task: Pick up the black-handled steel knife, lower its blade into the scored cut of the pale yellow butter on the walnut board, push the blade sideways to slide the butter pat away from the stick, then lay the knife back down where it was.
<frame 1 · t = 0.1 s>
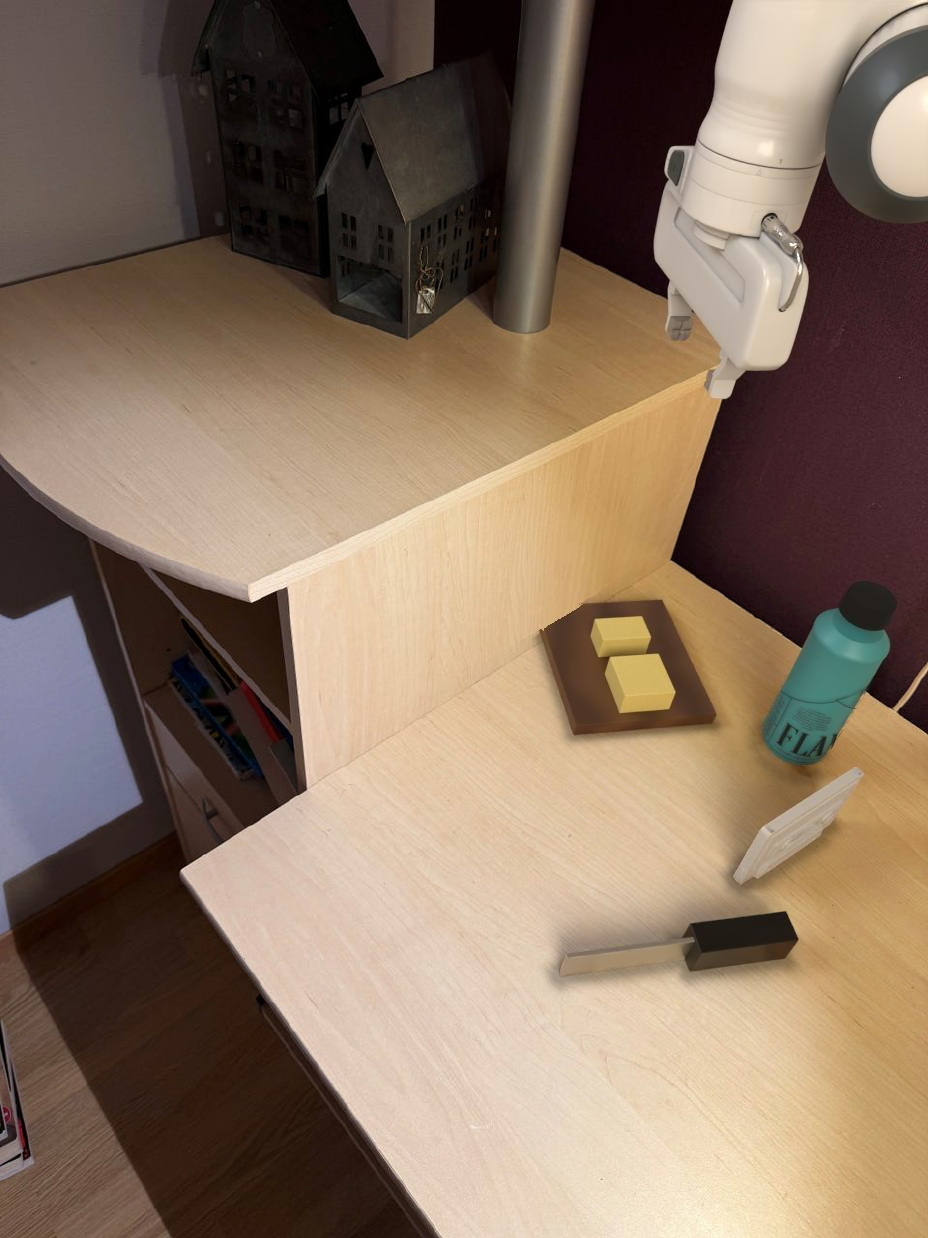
hand: (695, 364, 75), 30 cm above the table, tool pointing down, fingers open, 8 cm apart
cassette: (782, 851, 78), on the table
butter pat: (617, 645, 92), point 1 cm above the table, touching board
beverage bottle: (787, 750, 86), on the table
butter stick: (636, 691, 87), point 1 cm above the table, touching board
knife: (684, 957, 70), on the table
board: (619, 667, 92), on the table
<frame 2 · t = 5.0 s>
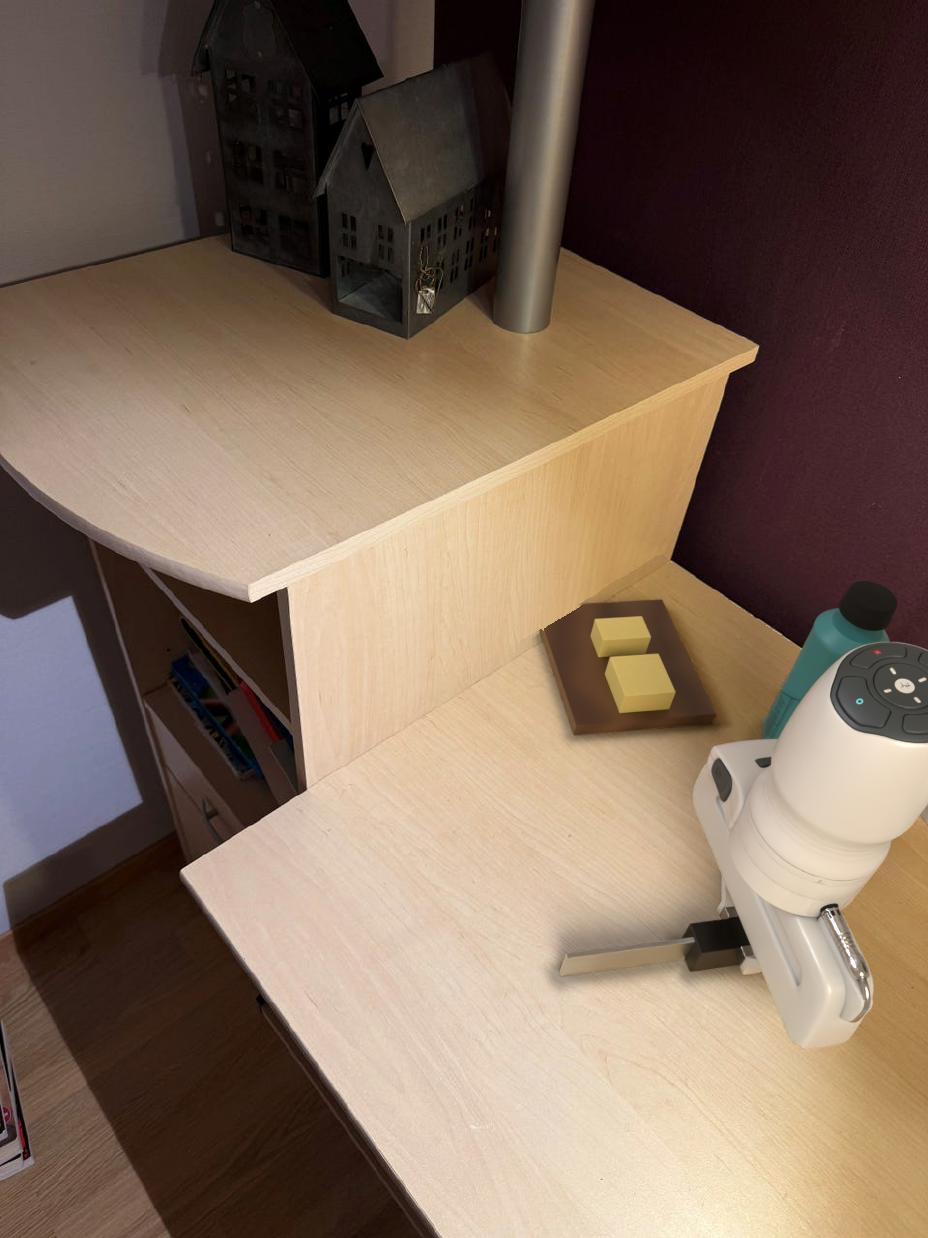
hand: (738, 941, 70), 2 cm above the table, tool pointing down, fingers closed on knife, 2 cm apart
knife: (684, 957, 70), on the table, touching gripper
everything else where it was.
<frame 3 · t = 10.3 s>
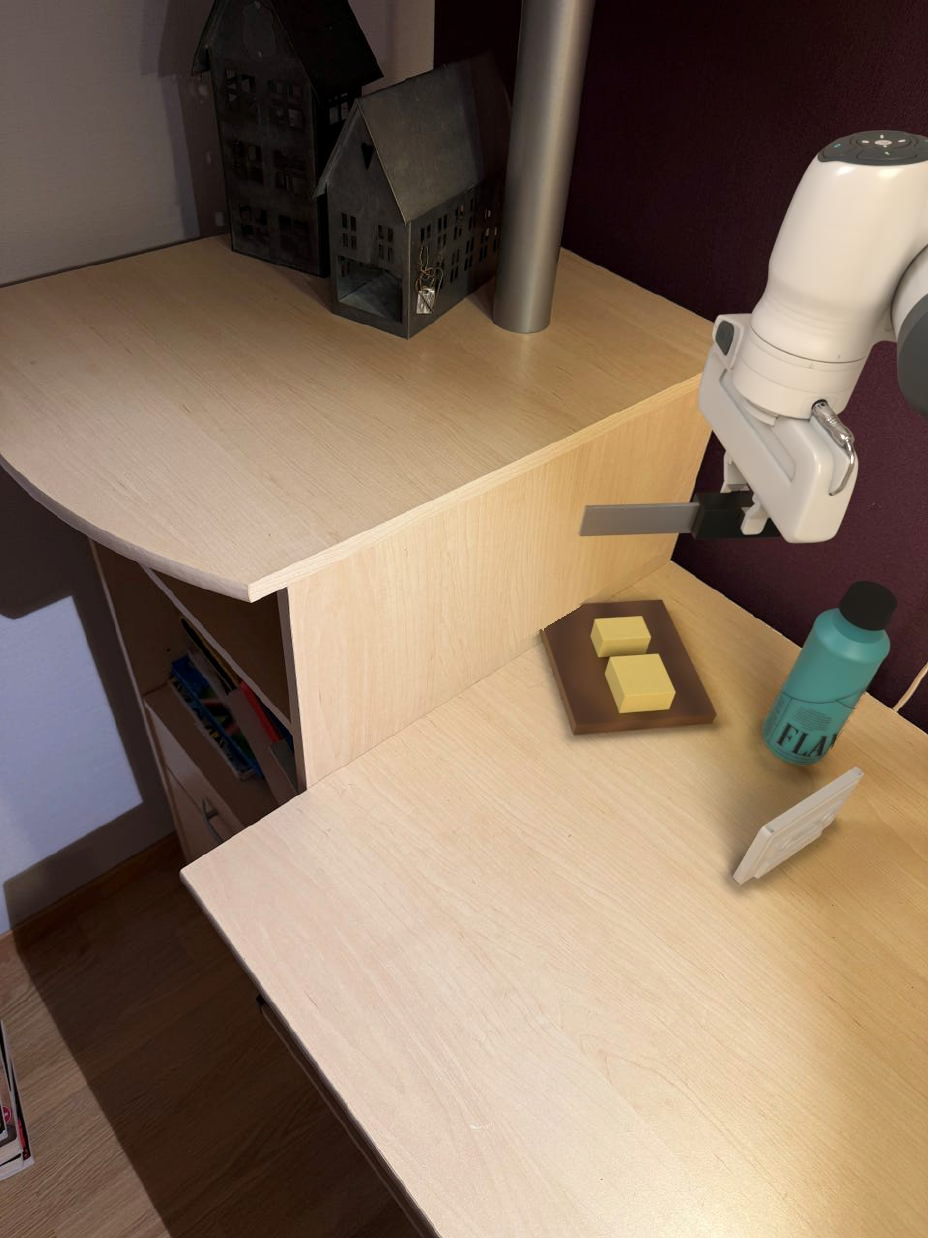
hand: (739, 515, 78), 20 cm above the table, tool pointing down, fingers closed on knife, 2 cm apart
knife: (689, 531, 78), point 19 cm above the table, touching gripper
everything else where it was.
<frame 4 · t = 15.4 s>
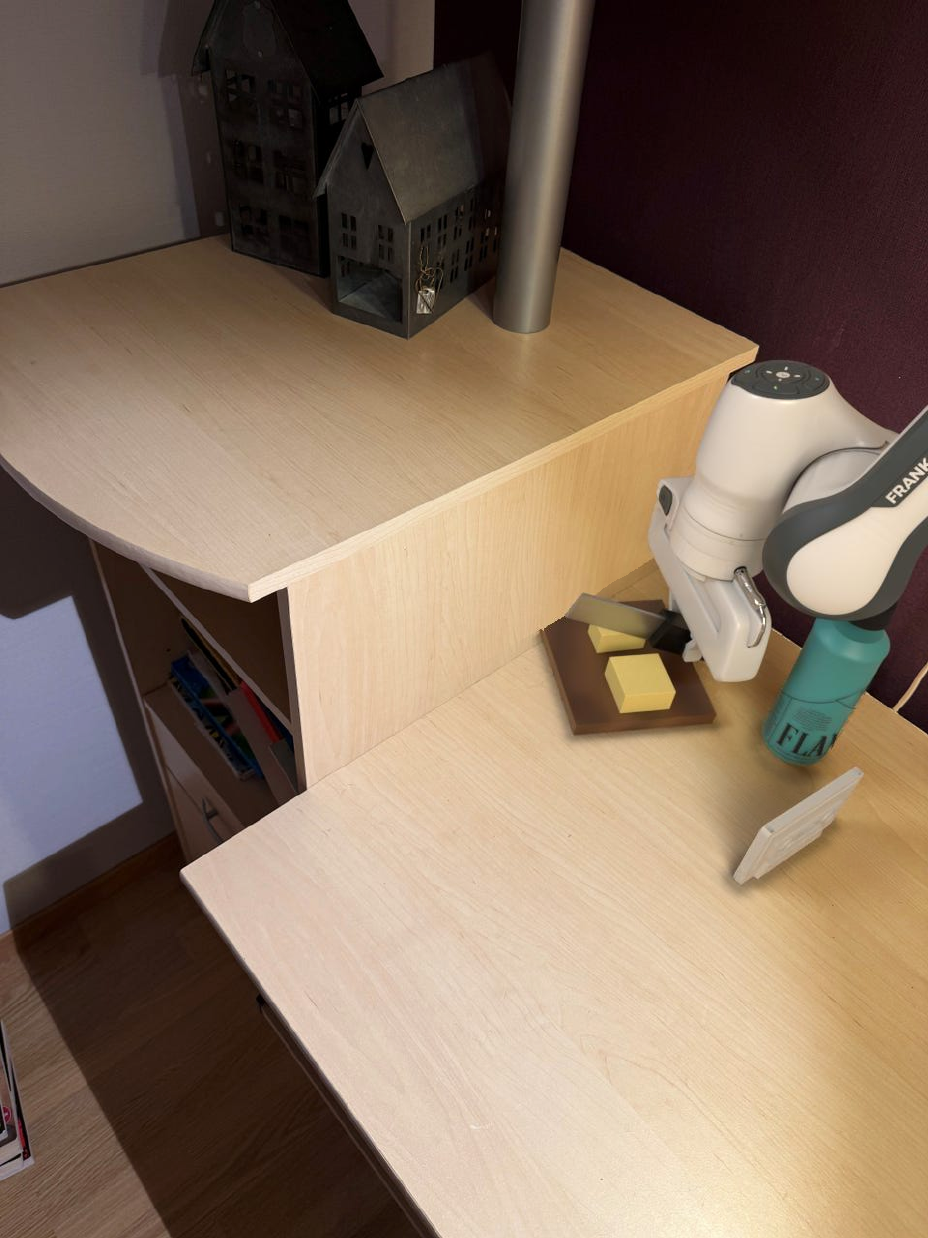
hand: (682, 642, 90), 3 cm above the table, tool pointing down, fingers closed on knife, 2 cm apart
butter pat: (615, 640, 92), point 2 cm above the table, touching knife
knife: (647, 638, 89), point 4 cm above the table, tilted 24°, touching butter pat, gripper
everything else where it was.
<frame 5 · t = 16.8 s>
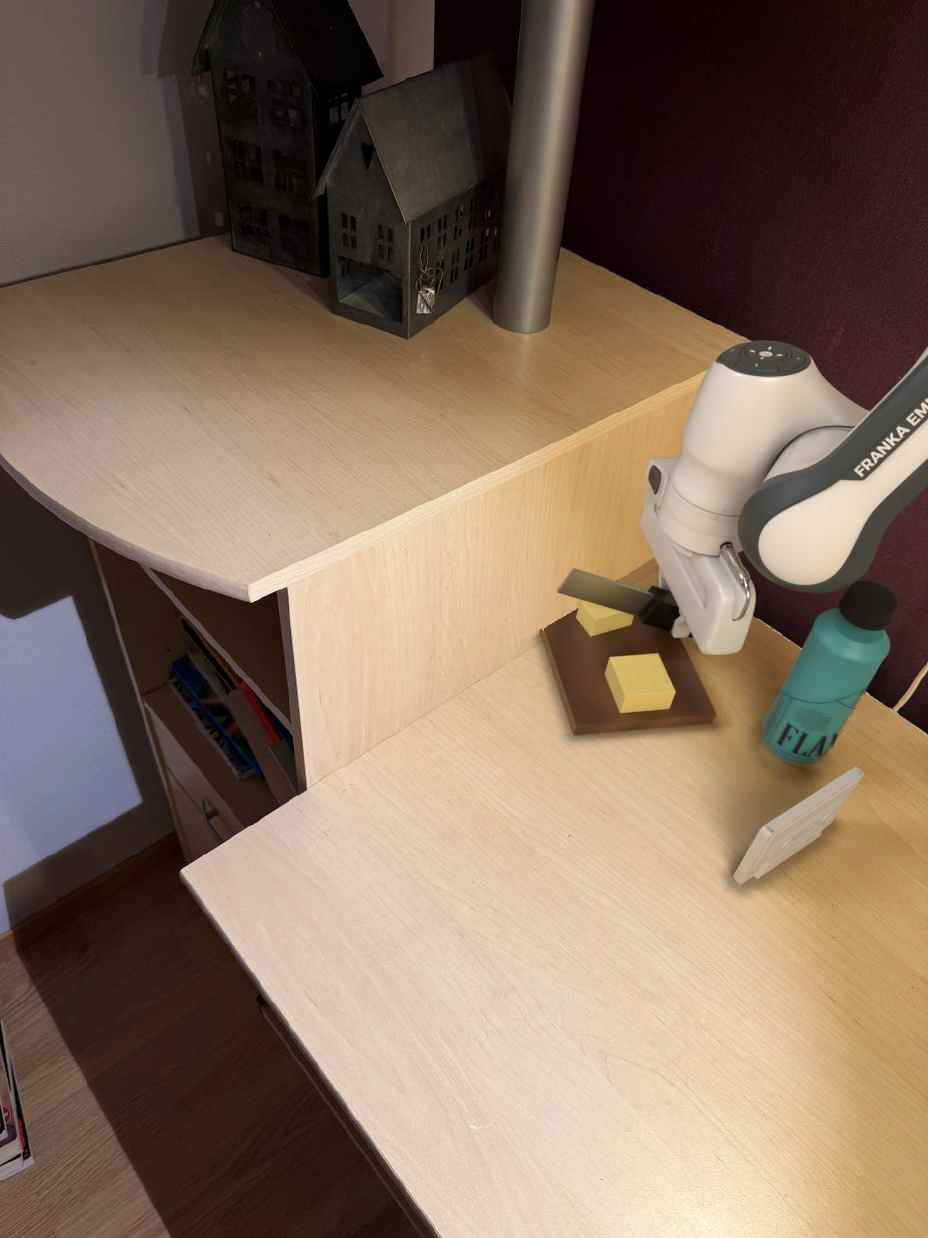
hand: (671, 619, 93), 3 cm above the table, tool pointing down, fingers closed on knife, 2 cm apart
butter pat: (603, 621, 94), point 2 cm above the table, touching board, knife
knife: (637, 615, 91), point 4 cm above the table, tilted 24°, touching butter pat, gripper
everything else where it was.
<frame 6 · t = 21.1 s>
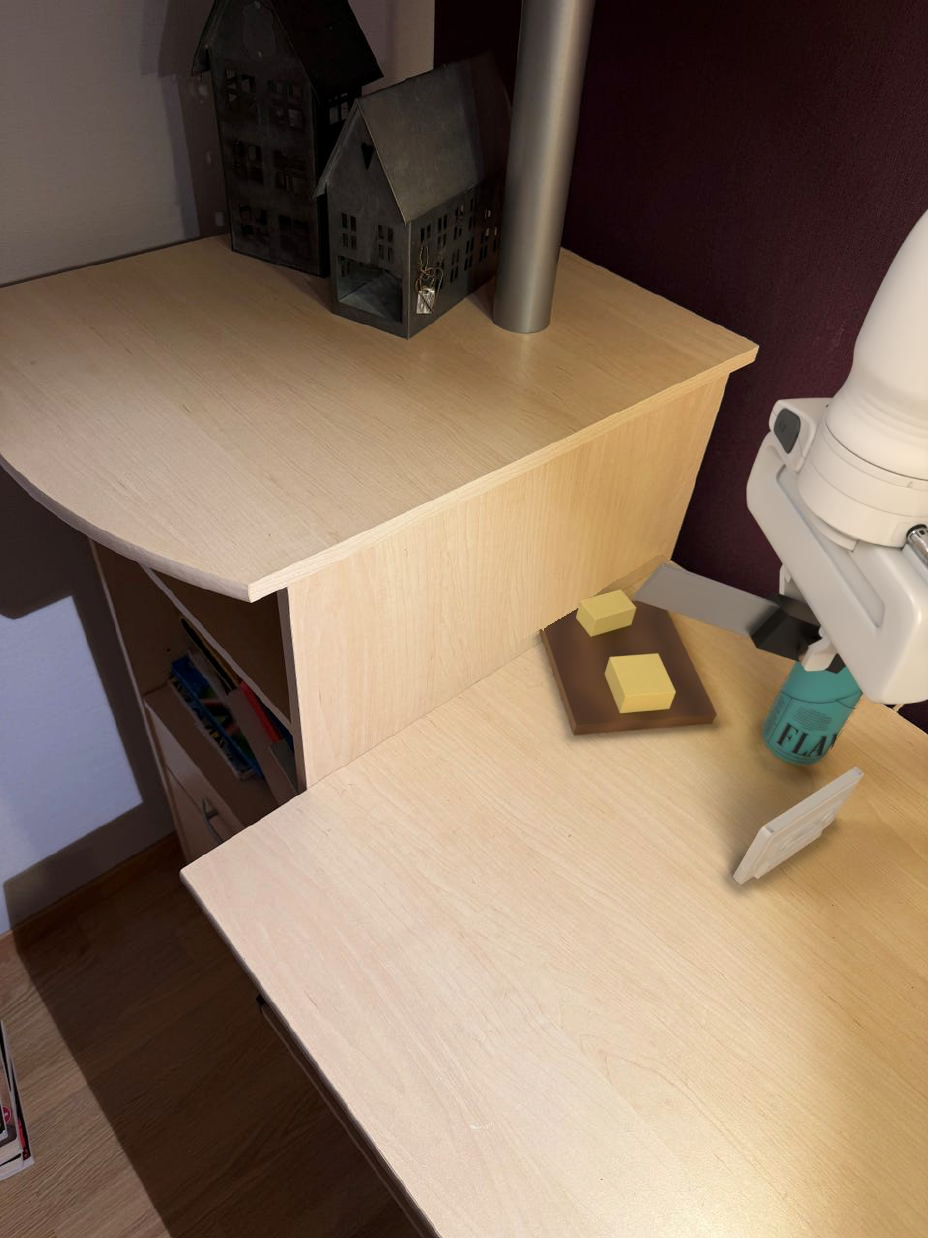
hand: (798, 643, 62), 23 cm above the table, tool pointing down, fingers closed on knife, 2 cm apart
butter pat: (603, 621, 94), point 1 cm above the table, touching board
knife: (748, 635, 61), point 24 cm above the table, tilted 24°, touching gripper
everything else where it was.
when the fingers open (2 cm above the table, at t = 24.9 s): knife drops 3 cm, on the table.
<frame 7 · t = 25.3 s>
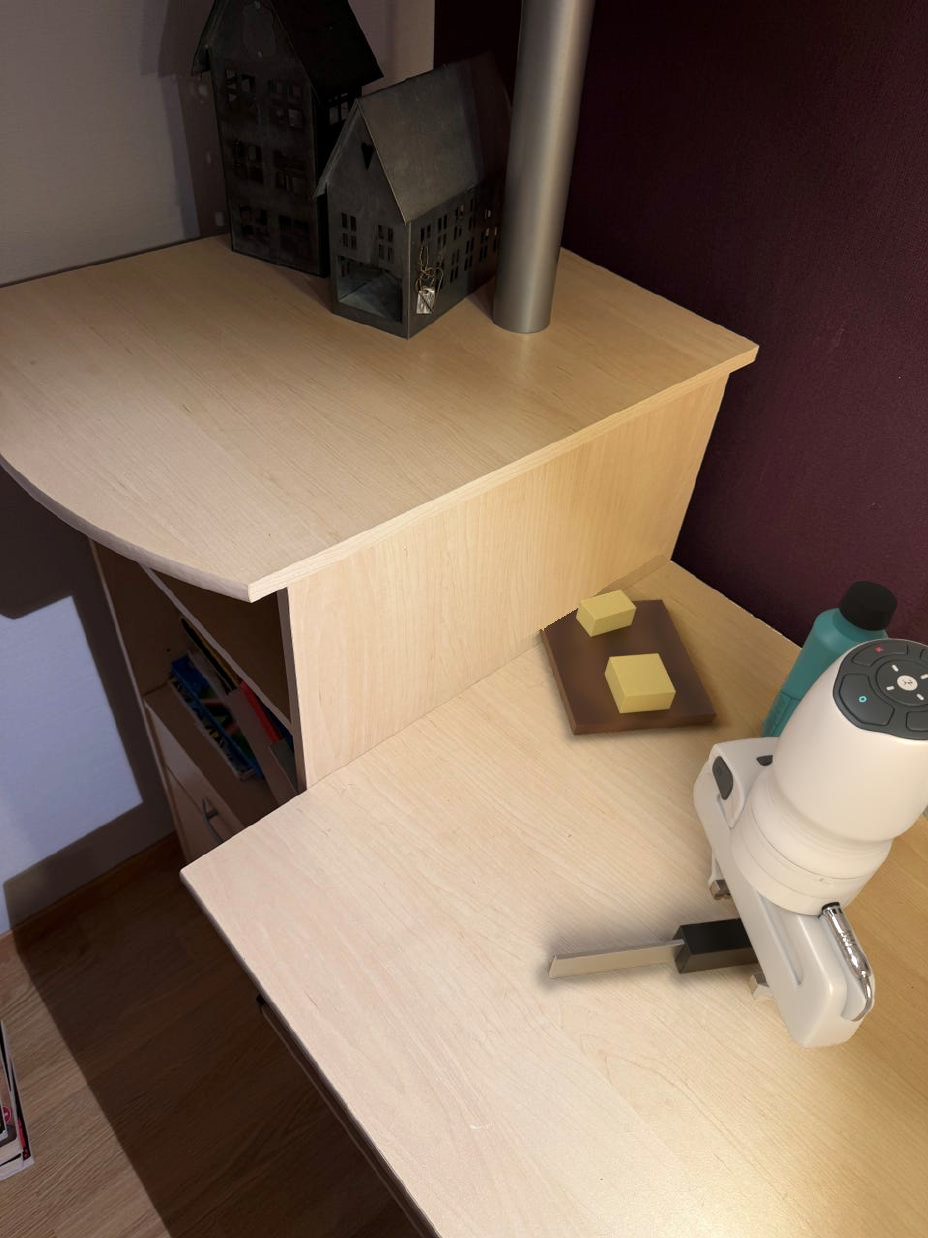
hand: (739, 940, 69), 2 cm above the table, tool pointing down, fingers open, 7 cm apart
knife: (674, 959, 70), on the table
everything else where it was.
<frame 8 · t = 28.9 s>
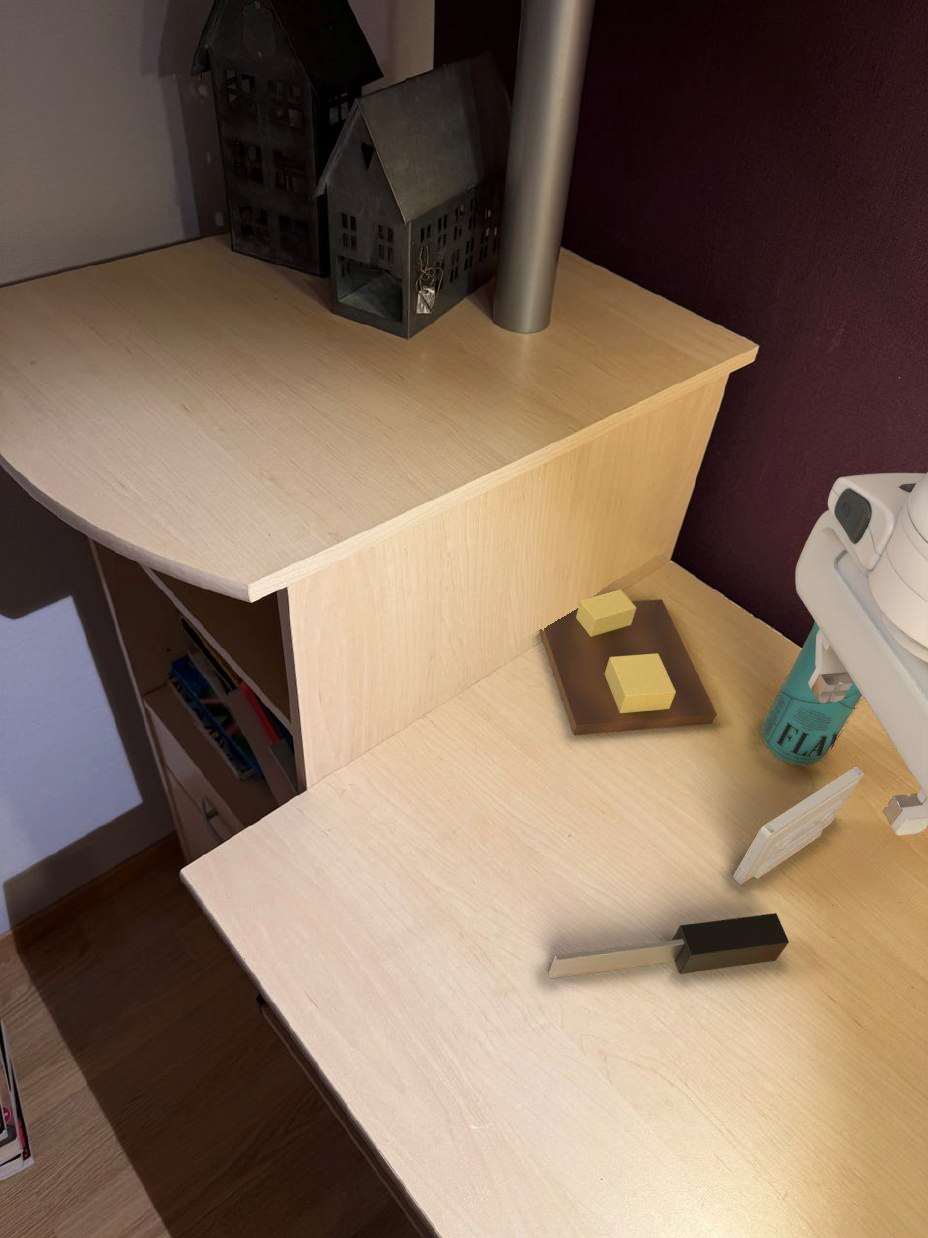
hand: (859, 755, 53), 25 cm above the table, tool pointing down, fingers open, 8 cm apart
nothing on the table moved.
at the end: butter pat moved 3.5 cm from its start; butter stick moved 0.0 cm from its start; knife inside the target area (0.8 cm from its centre), on the table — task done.
